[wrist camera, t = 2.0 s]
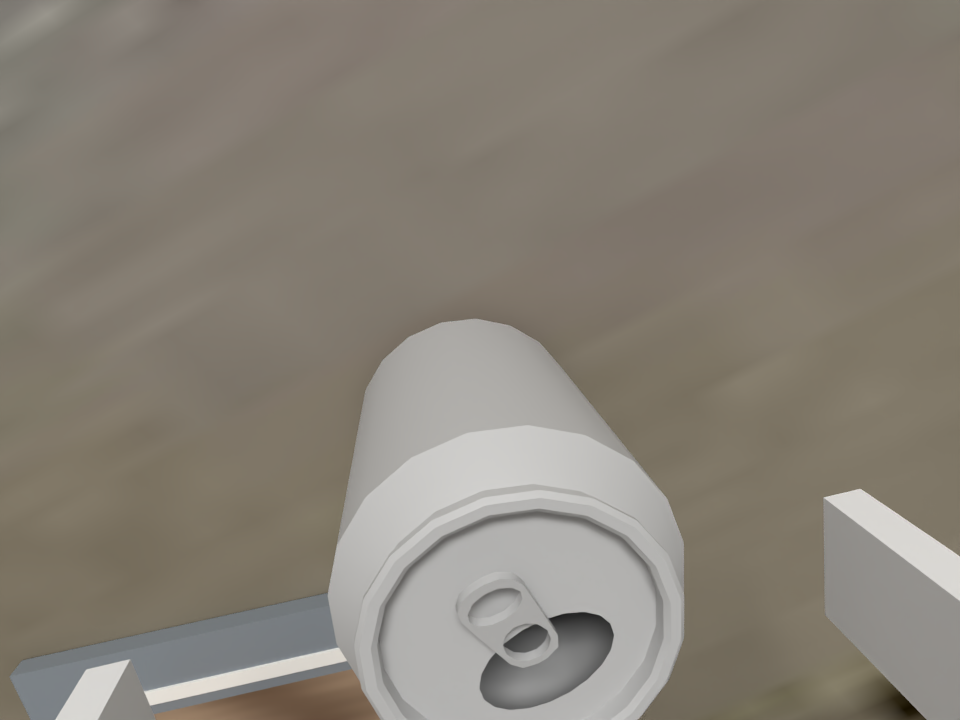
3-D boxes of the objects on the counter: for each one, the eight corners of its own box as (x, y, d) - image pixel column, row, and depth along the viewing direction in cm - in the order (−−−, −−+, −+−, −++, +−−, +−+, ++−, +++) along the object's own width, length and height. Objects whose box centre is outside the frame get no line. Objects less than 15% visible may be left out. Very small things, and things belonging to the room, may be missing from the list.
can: (436, 542, 24) (464, 868, 13) (318, 389, 22) (225, 619, 11) (604, 438, 24) (786, 681, 12) (499, 271, 22) (605, 379, 10)
